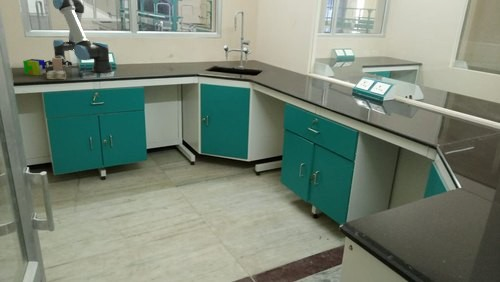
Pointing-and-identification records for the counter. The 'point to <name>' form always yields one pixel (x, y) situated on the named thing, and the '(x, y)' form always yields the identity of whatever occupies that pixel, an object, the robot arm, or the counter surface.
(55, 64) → the pillar block
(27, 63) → the puzzle toy
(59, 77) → the pedestal
